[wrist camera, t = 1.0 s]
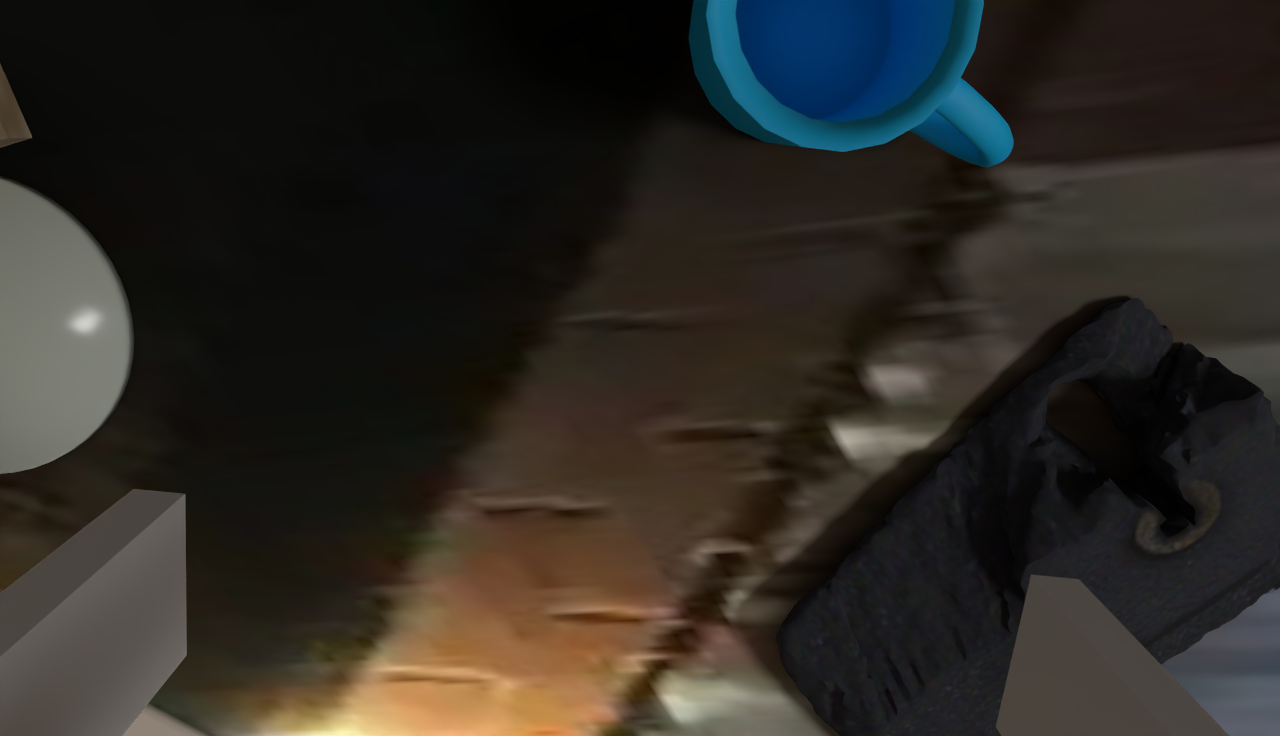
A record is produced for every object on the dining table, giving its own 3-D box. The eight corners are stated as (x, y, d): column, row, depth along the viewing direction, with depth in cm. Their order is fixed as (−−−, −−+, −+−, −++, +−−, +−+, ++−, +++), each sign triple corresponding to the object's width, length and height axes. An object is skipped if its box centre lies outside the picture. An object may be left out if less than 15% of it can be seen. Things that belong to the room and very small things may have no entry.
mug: (646, 65, 37) (651, 49, 29) (772, -132, 35) (815, -206, 27) (898, 242, 39) (969, 272, 31) (1029, 62, 37) (1140, 45, 29)
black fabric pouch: (715, 585, 42) (726, 640, 38) (1144, 264, 39) (1213, 283, 35) (919, 817, 45) (952, 895, 41) (1332, 537, 42) (1419, 586, 38)
